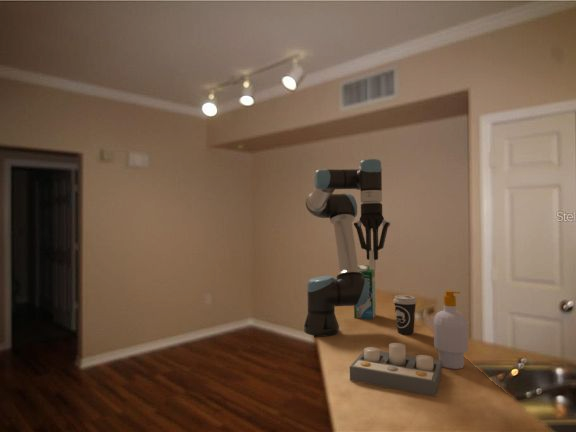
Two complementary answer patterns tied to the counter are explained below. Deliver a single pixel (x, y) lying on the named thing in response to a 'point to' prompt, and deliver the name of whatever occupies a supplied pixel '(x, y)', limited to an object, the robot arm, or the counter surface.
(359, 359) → the board
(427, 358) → the button
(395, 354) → the button
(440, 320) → the soap bottle
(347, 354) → the counter surface
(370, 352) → the button
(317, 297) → the robot arm
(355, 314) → the milk carton
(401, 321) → the coffee cup
